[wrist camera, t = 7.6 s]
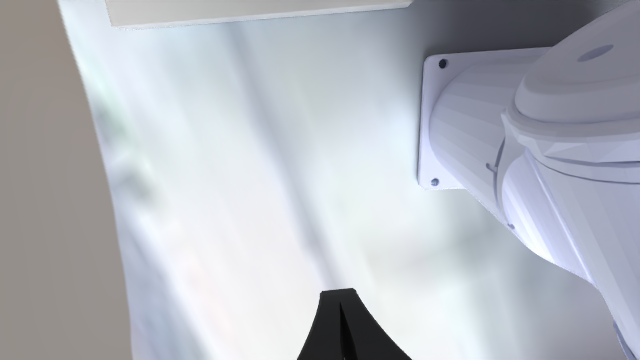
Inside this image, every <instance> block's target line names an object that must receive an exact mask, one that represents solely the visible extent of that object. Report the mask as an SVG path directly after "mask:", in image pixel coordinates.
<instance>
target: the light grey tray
mask: <svg viewBox="0 0 640 360" xmlns="http://www.w3.org/2000/svg"><path fill="white" fill-rule="evenodd" d="M412 2H413V0H105V3H106V7H107V10H108V14H109V18H110V22H111V26H112V27H116V28H122V29H127V30H137V29H150V28H162V27H174V26H187V25H199V24H211V23H223V22H236V21H248V20H260V19H273V18H285V17H297V16H309V15H322V14H334V13H346V12H359V11H371V10H383V9H395V8H407V7H408V6H409V5H410V4H411V3H412Z"/></svg>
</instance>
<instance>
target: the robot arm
mask: <svg viewBox="0 0 640 360" xmlns="http://www.w3.org/2000/svg"><path fill="white" fill-rule="evenodd" d="M441 59H444V60H445V61H446V66H445V67H444V68H443V69H441V68H440V67H439V61H440V60H441ZM434 178H437V179H438V181H437V182H436V183H435V184H431V180H432V179H434ZM418 184H419V186H420V187H421V188H422V189H426V190H428V189H461V188H466V189H467V190H468V191H469V192H470V193H471V194H472V195H473V196H474V197H475V198H476V199H477V200H478V201H479V202H480V203H482V204H483V205H484V206H485V207H486V208H487V209H488V210H489V211H490V212H491V213H492V214H493V215H494V216H495V217H496V218H497V219H498V220H499V221H500V222H501V223H503V224H504V225H505V226H506V227H507V228H508V229H509V230H510V231H511V232H512V233H513V234H514V235H515V236H516V237H517V238H518V239H520V240H521V241H522V242H523V243H524V244H525V245H526V246H527V247H528V248H529V249H530V250H532V251H533V252H535V253H536V254H538V255H539V256H541V257H542V258H544V259H546V260H548V261H550V262H552V263H554V264H556V265H558V266H560V267H562V268H564V269H566V270H568V271H570V272H572V273H574V274H576V275H578V276H580V277H581V278H583V279H585V280H587V281H589V282H590V283H591V284H592V285H593V286H594V287H596V288H597V289H598V290H599V291H600V292H601V294H602V296H603V298H604V300H605V302H606V304H607V306H608V308H609V310H610V312H611V314H612V316H613V318H614V324H613V325H614V328H615V331H616V333H617V336H618V339H619V342H620V344H621V347H622V349H623V351H624V353H625V355H626V357H627V359H628V360H640V0H629V1H628V2H626V3H624V4H622V5H620V6H618V7H616V8H614V9H613V10H611V11H609V12H607V13H606V14H604V15H602V16H600V17H599V18H597V19H595V20H593V21H592V22H590V23H588V24H587V25H585V26H583V27H582V28H580V29H579V30H577V31H575V32H574V33H572V34H571V35H569V36H568V37H566V38H565V39H563V40H562V41H561V42H559V43H558V44H556V45H555V46H554V47H541V48H526V49H511V50H497V51H482V52H467V53H452V54H438V55H431V56H429V57H428V58H426V60H425V61H424V67H423V86H422V106H421V126H420V145H419V165H418ZM297 360H412V359H411V358H410V357H409V356H408V355H407V354H406V353H405V352H403V351H402V350H401V349H400V348H399V347H398V346H397V345H396V344H395V342H394V341H393V340H392V339H391V338H390V337H389V336H388V335H387V334H386V333H385V331H384V330H383V329H382V328H381V327H380V325H379V324H378V323H377V322H376V320H375V319H374V318H373V316H372V315H371V314H370V313H369V311H368V310H367V308H366V307H365V305H364V304H363V302H362V301H361V299H360V298H359V296H358V294H357V292H356V290H355V289H353V288H348V289H339V290H329V291H322V292H321V293H320V299H319V305H318V309H317V312H316V316H315V318H314V321H313V324H312V327H311V330H310V332H309V335H308V337H307V339H306V341H305V344H304V346H303V348H302V350H301V352H300V354H299V356H298V358H297Z"/></svg>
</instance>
